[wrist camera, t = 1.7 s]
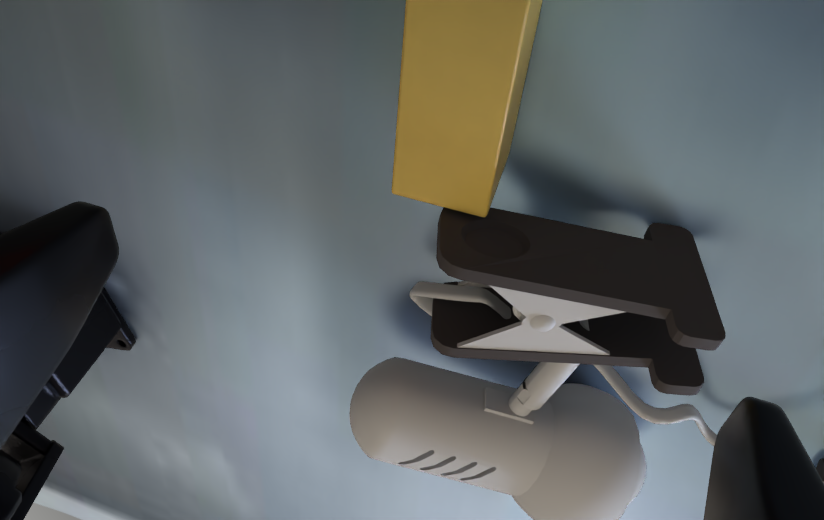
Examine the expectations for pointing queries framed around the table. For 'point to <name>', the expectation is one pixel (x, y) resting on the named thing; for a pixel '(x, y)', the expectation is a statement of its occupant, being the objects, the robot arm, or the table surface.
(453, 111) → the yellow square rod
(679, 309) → the clip-on lamp
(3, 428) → the robot arm
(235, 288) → the table surface
